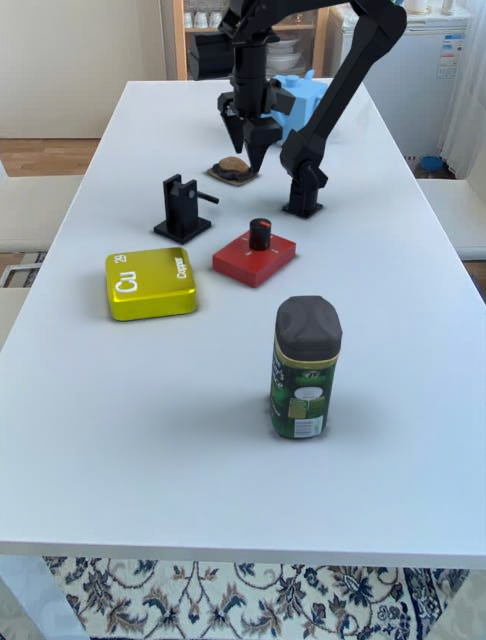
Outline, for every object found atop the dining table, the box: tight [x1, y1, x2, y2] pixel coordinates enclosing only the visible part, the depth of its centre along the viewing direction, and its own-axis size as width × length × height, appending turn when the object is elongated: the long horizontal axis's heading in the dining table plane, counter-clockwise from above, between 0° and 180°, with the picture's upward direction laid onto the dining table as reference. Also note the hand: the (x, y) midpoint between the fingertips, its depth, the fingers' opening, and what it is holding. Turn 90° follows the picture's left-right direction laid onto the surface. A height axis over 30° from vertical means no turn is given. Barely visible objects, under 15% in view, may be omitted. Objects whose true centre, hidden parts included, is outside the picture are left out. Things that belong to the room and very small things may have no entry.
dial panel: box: [211, 229, 297, 289], centre depth 106 cm, size 13×10×3 cm
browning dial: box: [248, 217, 273, 251], centre depth 104 cm, size 4×4×5 cm
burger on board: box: [206, 155, 259, 187], centre depth 131 cm, size 11×8×4 cm
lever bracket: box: [152, 173, 212, 246], centre depth 112 cm, size 9×8×10 cm
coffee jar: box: [269, 295, 344, 439], centre depth 74 cm, size 10×8×19 cm
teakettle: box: [261, 69, 329, 143], centre depth 140 cm, size 19×19×15 cm
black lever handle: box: [170, 181, 220, 205], centre depth 113 cm, size 12×6×2 cm, turn 142°
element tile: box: [104, 246, 198, 322], centre depth 100 cm, size 15×15×5 cm
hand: (247, 162), depth 109 cm, fingers open, 9 cm apart
